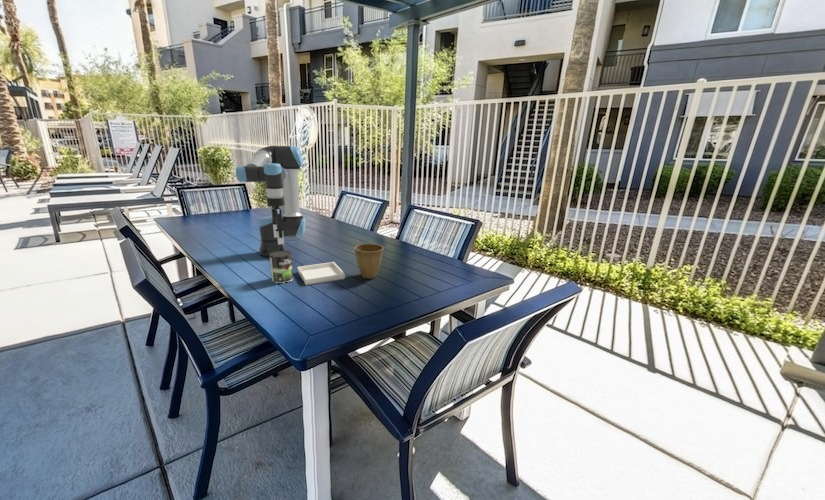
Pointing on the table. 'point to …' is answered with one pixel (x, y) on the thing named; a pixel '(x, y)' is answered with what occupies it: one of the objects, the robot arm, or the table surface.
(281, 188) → the robot arm
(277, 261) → the coffee can
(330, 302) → the table surface
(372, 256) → the plant pot
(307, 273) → the tray
